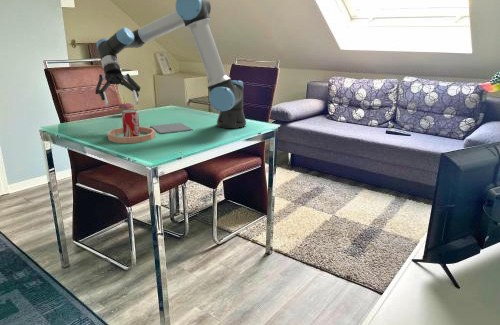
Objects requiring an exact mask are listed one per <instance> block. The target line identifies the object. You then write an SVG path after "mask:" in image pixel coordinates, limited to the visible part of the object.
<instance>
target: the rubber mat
mask: <svg viewBox="0 0 500 325" xmlns="http://www.w3.org/2000/svg"><path fill="white" fill-rule="evenodd" d="M149 128H152V129H154V131H155V132H157V133H159V134H160V135H166V134H174V133H182V132H191V130H192V131H193V128H191V127H189V126H187V125H185V124H184V123H182V122H176V123H164V124H154V125H150V126H149Z"/></svg>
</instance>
